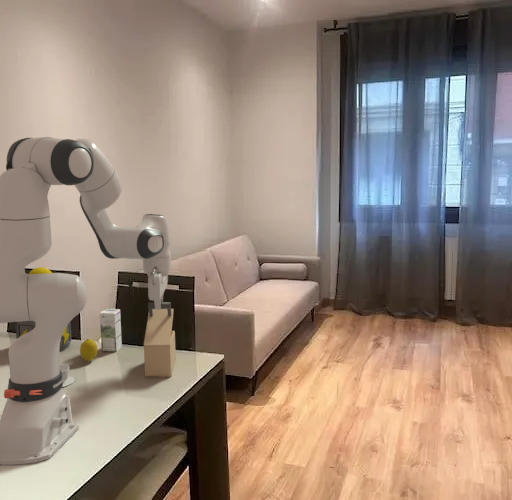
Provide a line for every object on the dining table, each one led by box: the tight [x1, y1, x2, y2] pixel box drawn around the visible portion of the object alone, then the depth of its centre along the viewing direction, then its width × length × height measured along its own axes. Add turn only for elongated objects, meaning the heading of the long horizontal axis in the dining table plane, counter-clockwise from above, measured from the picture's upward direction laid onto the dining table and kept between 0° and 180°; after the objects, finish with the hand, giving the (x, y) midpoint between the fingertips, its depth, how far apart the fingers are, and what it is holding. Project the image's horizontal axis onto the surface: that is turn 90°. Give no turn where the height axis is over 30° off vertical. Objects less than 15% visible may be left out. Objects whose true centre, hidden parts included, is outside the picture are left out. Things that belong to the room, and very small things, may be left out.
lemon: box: [79, 338, 98, 362], centre depth 173 cm, size 6×6×8 cm
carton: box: [143, 330, 176, 379], centre depth 166 cm, size 16×8×10 cm, turn 4°
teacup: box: [59, 363, 76, 388], centre depth 155 cm, size 10×10×5 cm
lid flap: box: [143, 301, 174, 348], centre depth 162 cm, size 16×8×6 cm, turn 3°
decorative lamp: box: [14, 266, 72, 353], centre depth 186 cm, size 19×19×30 cm
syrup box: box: [99, 308, 123, 353], centre depth 185 cm, size 6×6×14 cm
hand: (159, 307), depth 164 cm, fingers open, 3 cm apart
